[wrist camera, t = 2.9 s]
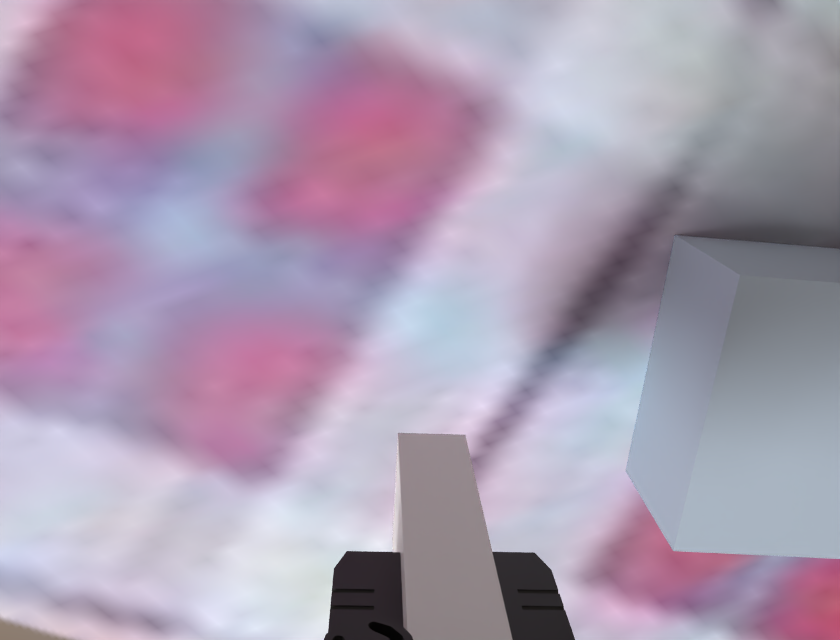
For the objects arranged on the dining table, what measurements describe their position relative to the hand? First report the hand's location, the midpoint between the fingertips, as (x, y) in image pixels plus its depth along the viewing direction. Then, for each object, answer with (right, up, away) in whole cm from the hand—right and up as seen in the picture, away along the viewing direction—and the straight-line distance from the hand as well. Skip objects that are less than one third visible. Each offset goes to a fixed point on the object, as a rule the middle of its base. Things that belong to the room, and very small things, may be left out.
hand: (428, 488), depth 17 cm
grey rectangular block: (+10, +2, +7) cm, 13 cm away
